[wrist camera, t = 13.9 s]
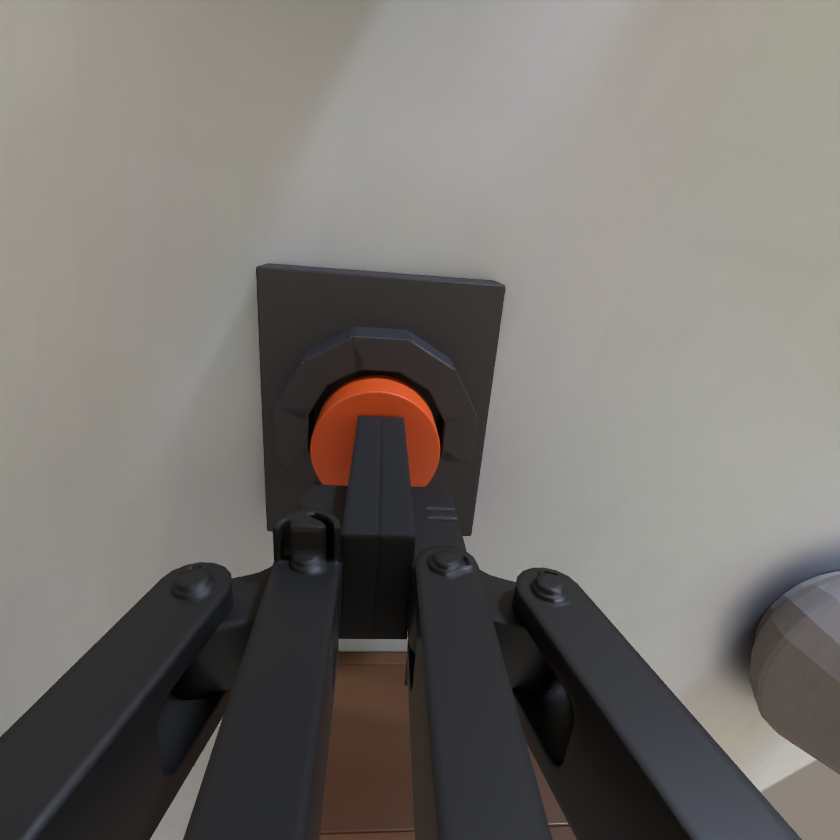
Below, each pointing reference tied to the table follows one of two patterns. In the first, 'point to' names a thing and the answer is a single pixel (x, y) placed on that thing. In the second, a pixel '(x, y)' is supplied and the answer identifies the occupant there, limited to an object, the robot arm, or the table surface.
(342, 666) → the cabinet
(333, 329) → the button housing
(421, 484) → the button
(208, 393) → the table surface
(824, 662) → the coffee pot
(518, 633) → the robot arm
